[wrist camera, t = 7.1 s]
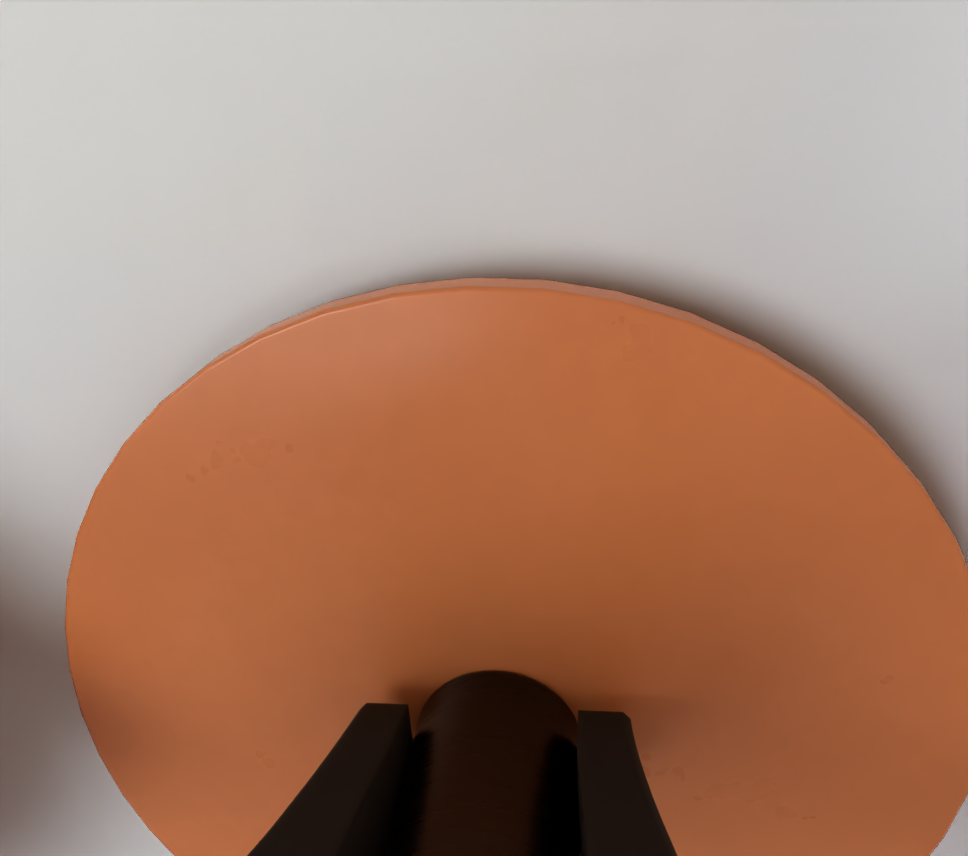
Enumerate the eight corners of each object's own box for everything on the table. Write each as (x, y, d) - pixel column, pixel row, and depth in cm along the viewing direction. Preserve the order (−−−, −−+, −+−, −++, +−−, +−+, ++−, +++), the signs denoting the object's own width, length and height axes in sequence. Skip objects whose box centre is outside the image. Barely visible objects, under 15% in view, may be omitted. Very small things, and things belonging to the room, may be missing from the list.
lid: (888, 976, 15) (1003, 1324, 11) (198, 925, 17) (72, 1207, 12) (1052, 242, 9) (1415, 384, 5) (-6, 283, 11) (-350, 414, 7)
